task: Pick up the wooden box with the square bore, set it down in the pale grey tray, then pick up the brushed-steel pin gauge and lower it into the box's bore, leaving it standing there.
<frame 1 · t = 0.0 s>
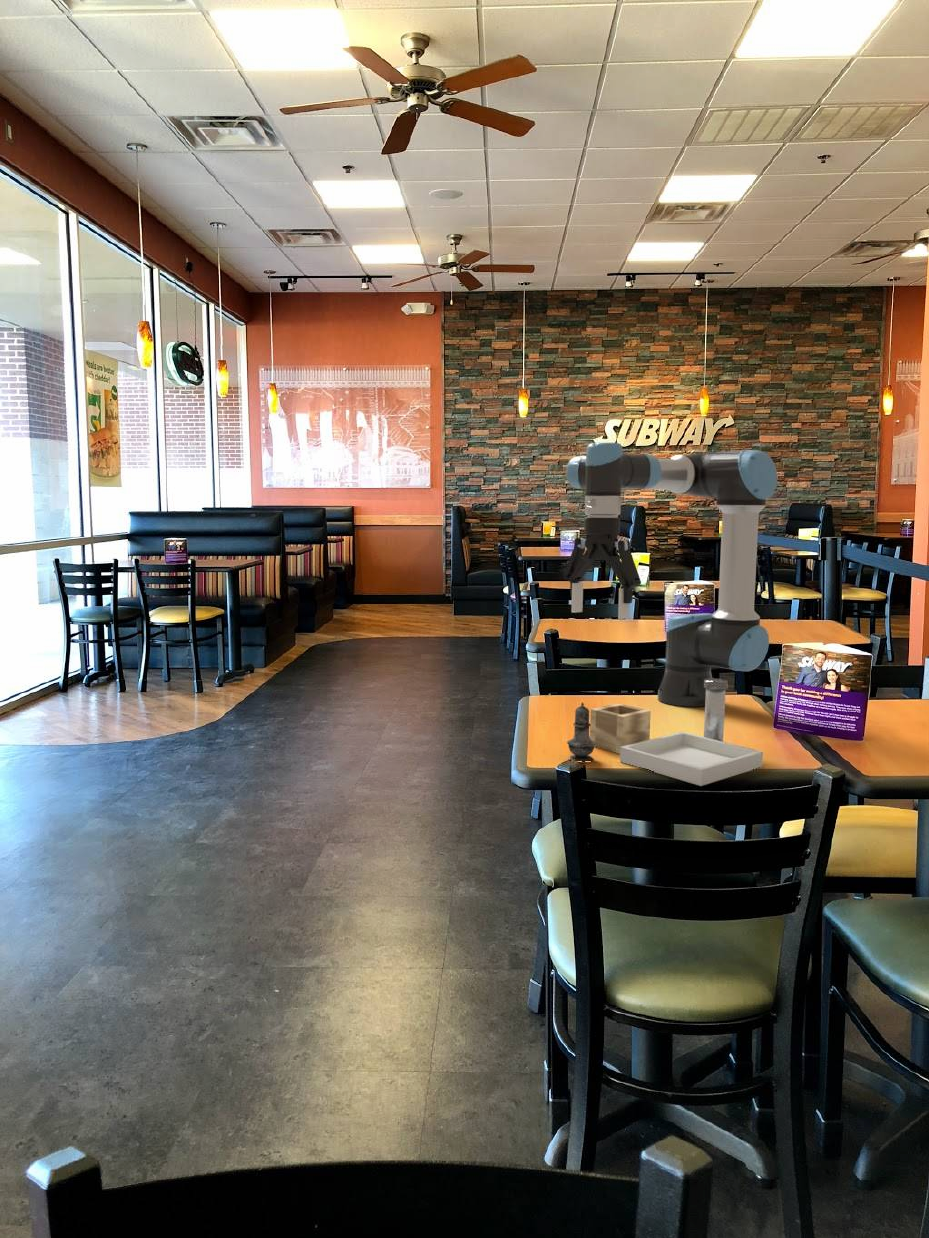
hand: (599, 615, 201), 28 cm above the table, fingers open, 13 cm apart
pin gauge: (713, 749, 199), on the table
wooden box: (619, 746, 201), on the table
salt shaker: (581, 760, 191), on the table
tray: (690, 764, 188), on the table
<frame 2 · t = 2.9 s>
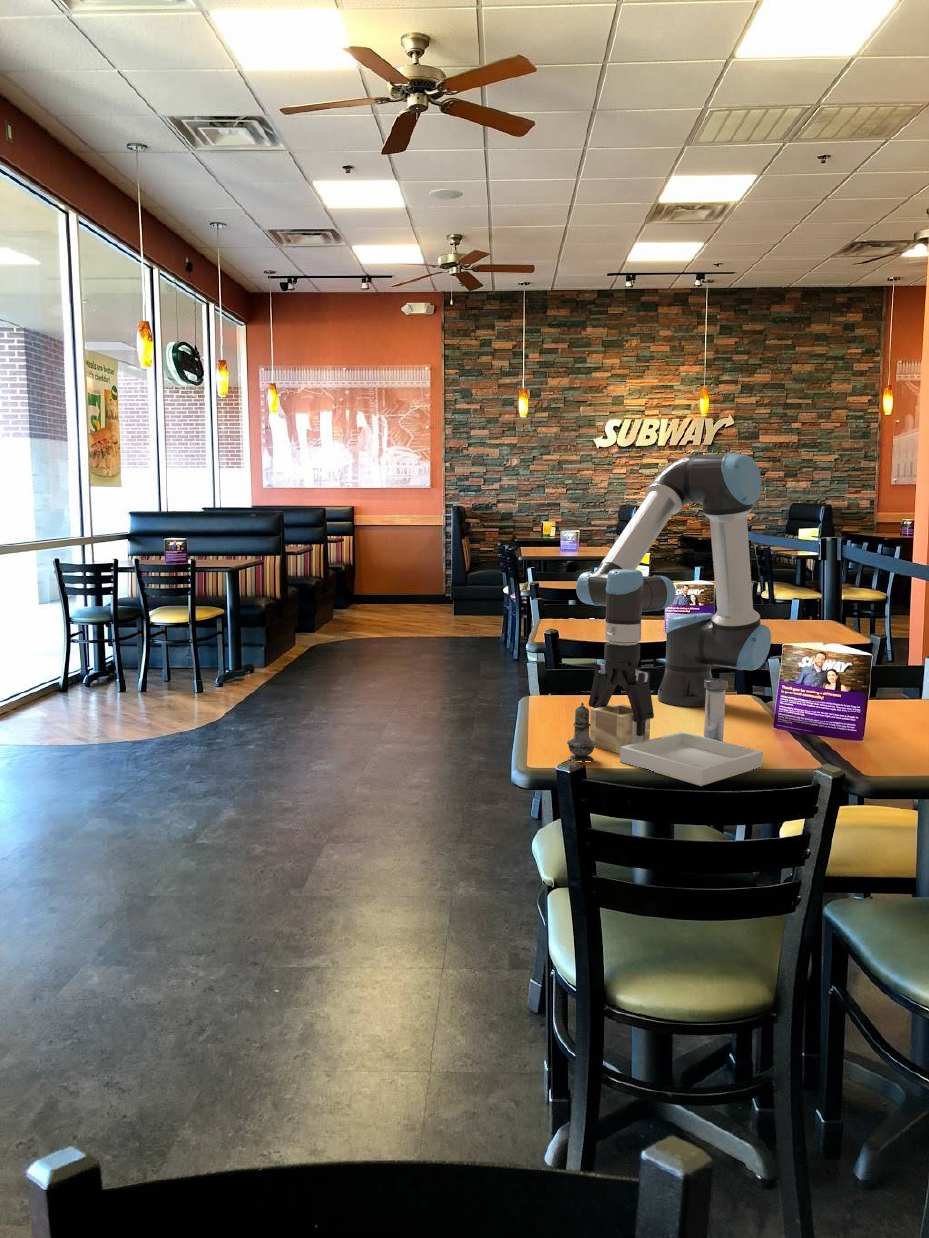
hand: (619, 745, 201), 0 cm above the table, fingers closed on wooden box, 9 cm apart
wooden box: (619, 746, 201), on the table, touching gripper
everything else where it was.
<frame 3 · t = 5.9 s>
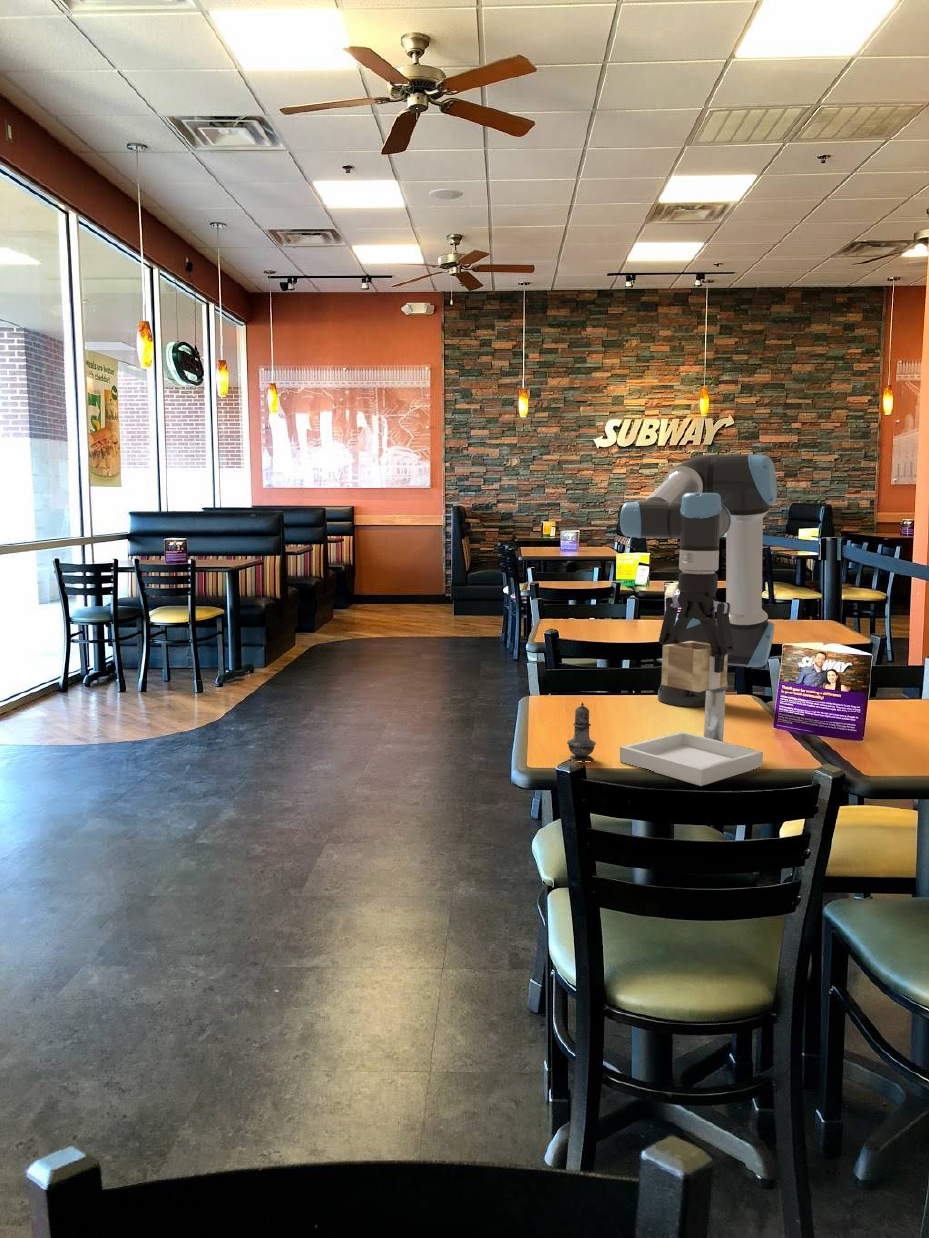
hand: (693, 684, 186), 16 cm above the table, fingers closed on wooden box, 9 cm apart
wooden box: (693, 685, 186), point 16 cm above the table, touching gripper
everything else where it was.
when the fingers open (2 cm above the table, at t = 8.9 s): wooden box stays where it is, resting on tray.
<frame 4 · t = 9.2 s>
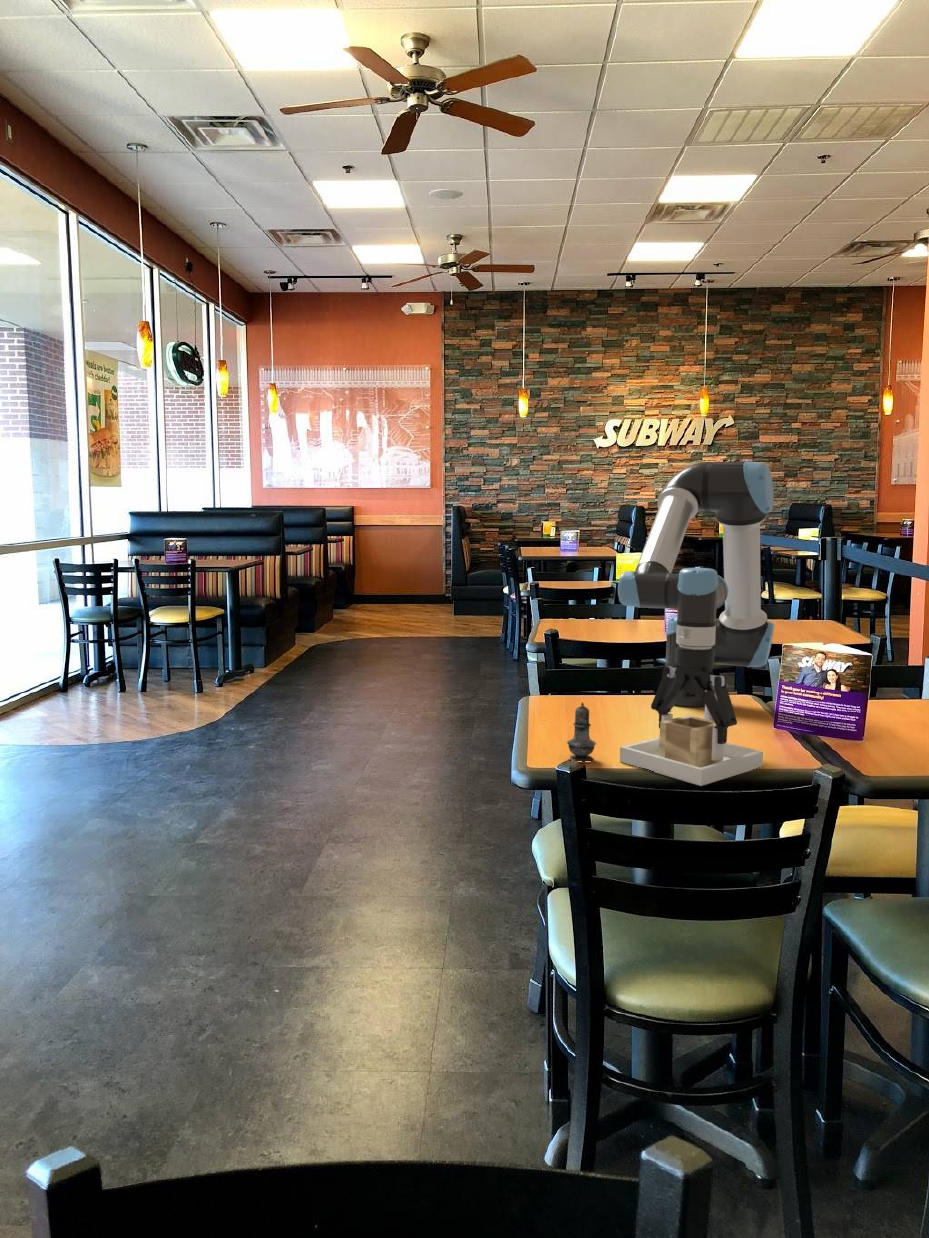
hand: (690, 752, 188), 2 cm above the table, fingers open, 12 cm apart
wooden box: (690, 761, 188), point 1 cm above the table, touching tray
everything else where it was.
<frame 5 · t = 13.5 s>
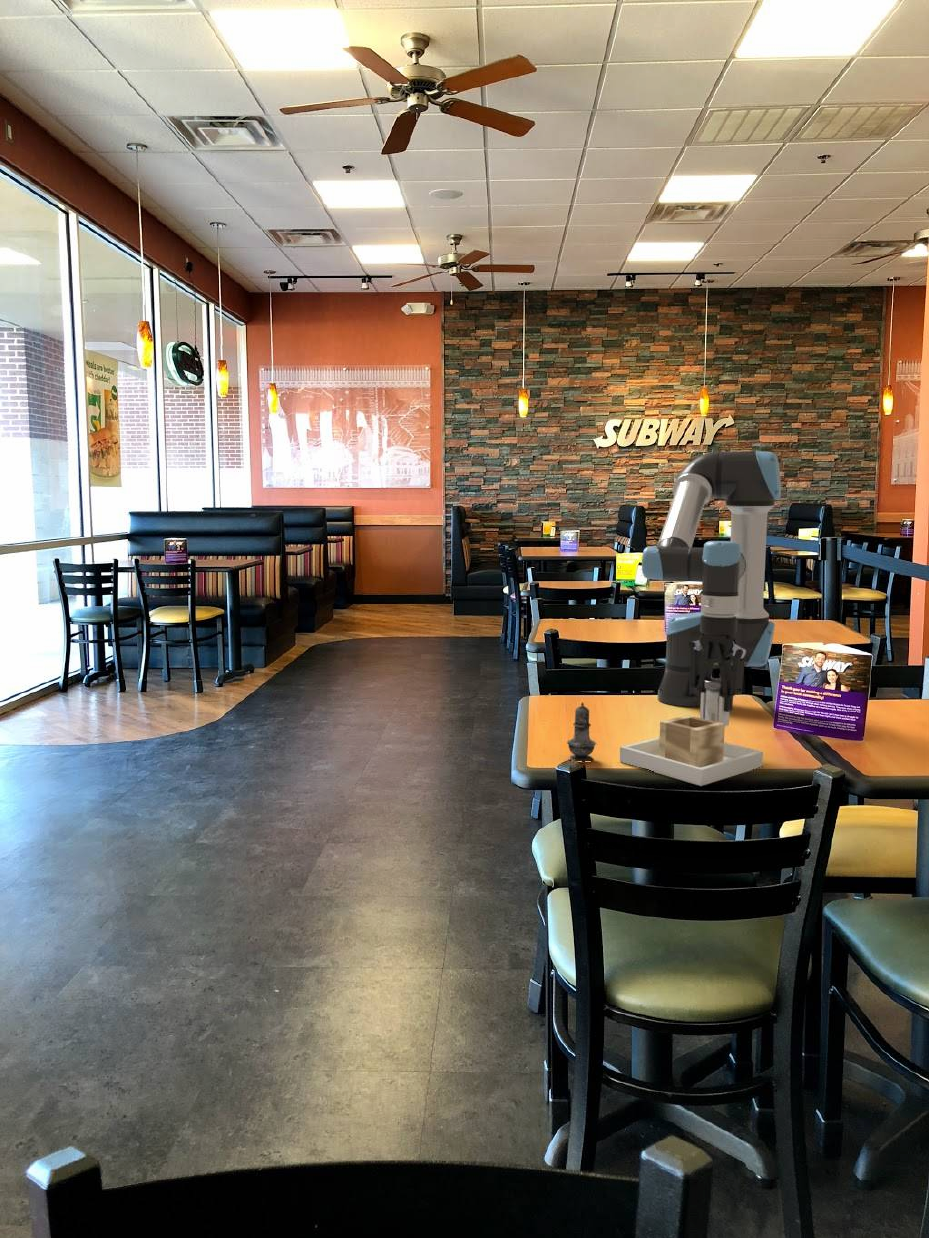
hand: (714, 723, 198), 6 cm above the table, fingers closed on pin gauge, 4 cm apart
pin gauge: (713, 749, 199), on the table, touching gripper
everything else where it was.
when the fingers open (10 cm above the table, at t = 20.6 s): pin gauge drops 3 cm, resting on tray.
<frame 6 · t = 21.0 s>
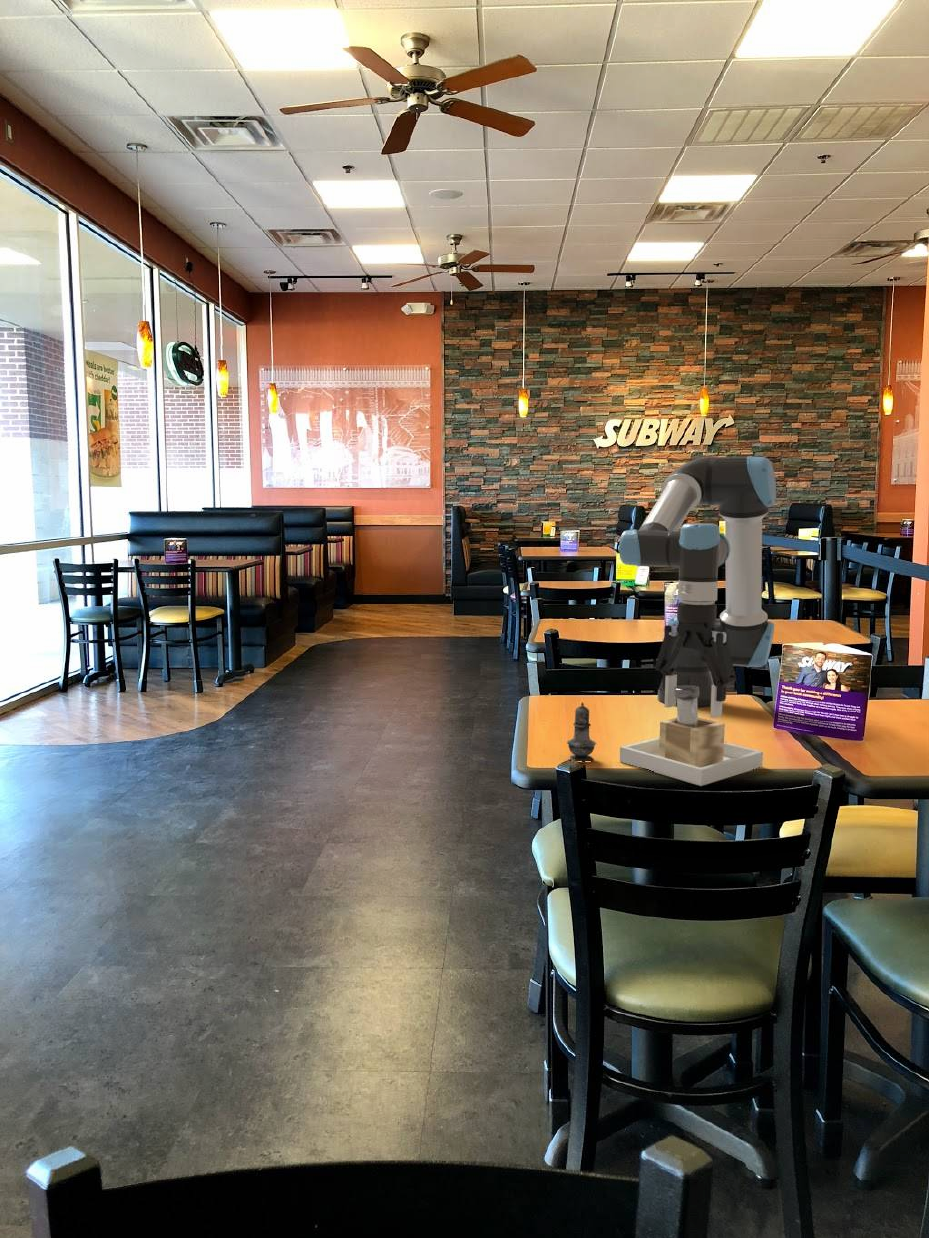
hand: (692, 711, 186), 11 cm above the table, fingers open, 10 cm apart
pin gauge: (688, 760, 188), point 1 cm above the table, touching tray
everything else where it was.
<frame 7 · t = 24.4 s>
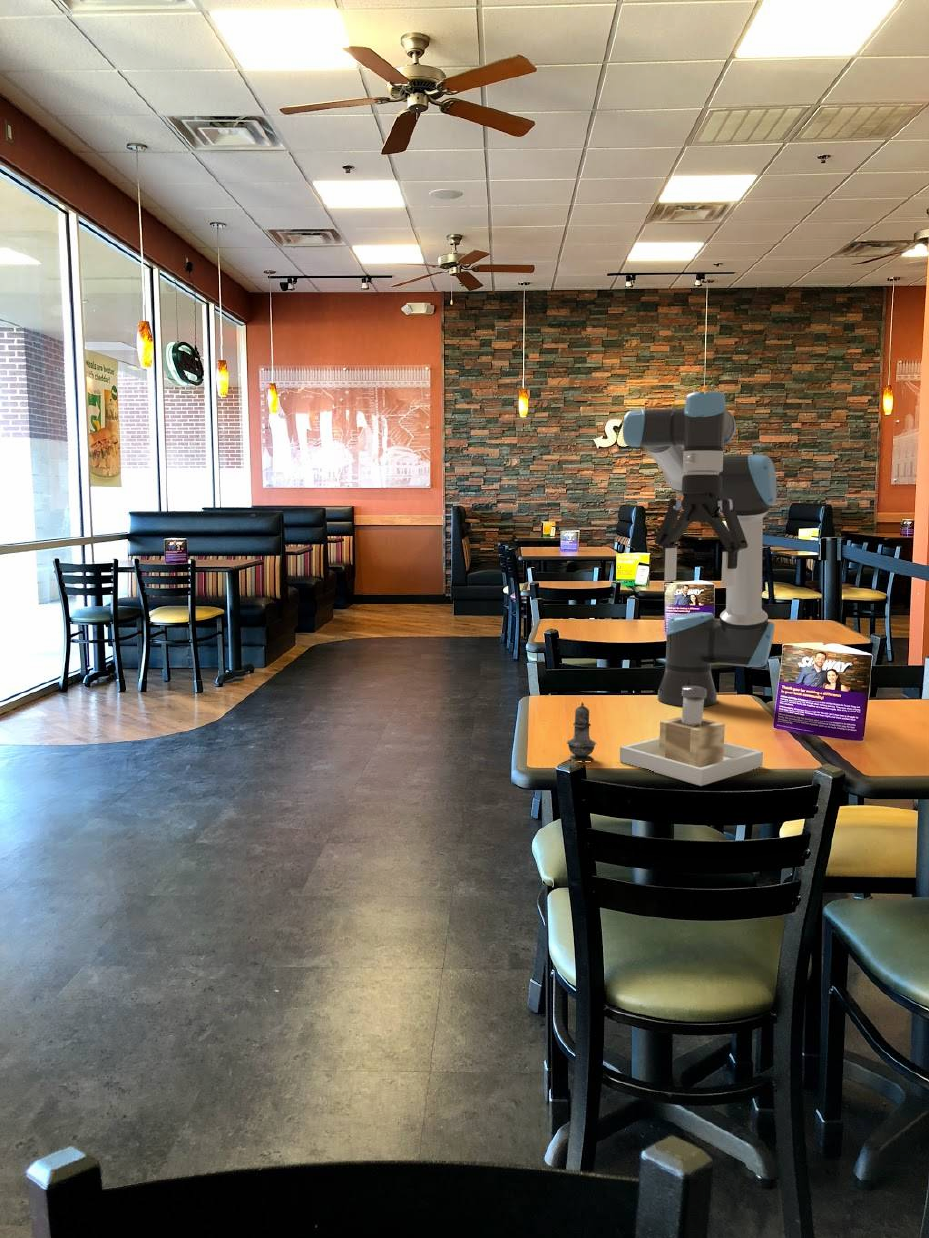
hand: (697, 583, 183), 37 cm above the table, fingers open, 13 cm apart
at the end: wooden box inside the target area on the tray (0.1 cm from its centre), point 0.6 cm above the tray's base; pin gauge 0.4 cm from the wooden box (horizontally); pin gauge point 0.7 cm above the table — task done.
